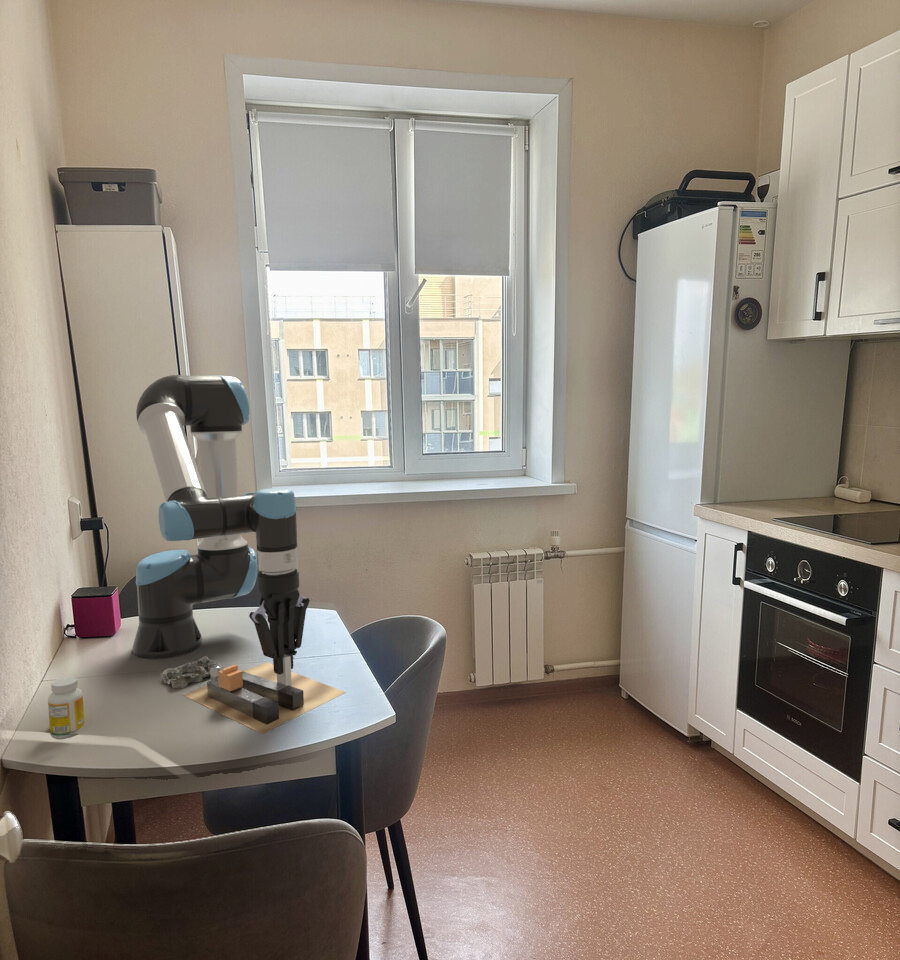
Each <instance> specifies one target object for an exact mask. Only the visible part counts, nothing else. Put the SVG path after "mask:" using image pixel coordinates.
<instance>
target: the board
mask: <svg viewBox="0 0 900 960" xmlns="http://www.w3.org/2000/svg"><path fill="white" fill-rule="evenodd" d="M242 671H243V670H242ZM243 672H246V673H249V674H253V675H256V676H259V677H262V678H265V679H268V680H271V681H274V682H277V674H276V673H274V667H273V664H272V663H270V662H267V661H265V662H264V663H261V664H258V665H256V666H253V667H250V668H249V669H246V670H244V671H243ZM291 677H292V687H295V688H298V689H301V690H303V696H304V705H303V706H301V707H299V708H297V709H295V710H294V711H293V710H290V709H287V708H285V707H282V706H279V719H278V720H276V721H274V722H272V723H270V724H267V725H266V724H264V723H262V722H260V721H258V720H256V719H254V718H252V717H250V716H248V715H246V714H244V713H242V712H240V711H237V710H235V709H233V708H231V707H229V706H227V705H225V704H223V703H220V702H218V701H216V700H214V699H212V698H210V697H208V690H207V685H205V686H203V687H200V688H197V689H195V690H193V691H190V692H188V693H185V694H183V695H182V696H184V697H186V698H187V699H189V700H192V701H193V702H196V703H198V704H200V705H202V706H205V707H207V709H211V710H213V711H215V712H216V713H219V714H220V715H222V716H224V717H227V718H229V719H230V720H233V721H234V722H237V723H238V724H241V725H243V726H245V727H247V728H249V729H251V730H253V731H255V732H257V733H259V734H262V735H263V734H265V733H268V732H270V731H271V730H273V729H275V728H278V727H280V726H282V725H284V724H286V723H287V722H290V721H292V720H294V719H295V718H298V717H300V716H301V715H303V714H305V713H308V712H309V711H312V710H314V709H316V708H317V707H319V706H322V705H324V704H325V703H327V702H330V701H332V700H333V699H336V698H338V697H339V696H342V695H345V694H346V691H344V690H341V689H339V688H336V687H334V686H330V685H328V684H325V683H322V682H320V681H319V680H318V681H317V680H315V679H312V678H310V677H307V676H306V675H301V674H300V673H298V672H297V673H296V672H293V671H291Z"/></svg>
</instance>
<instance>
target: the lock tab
mask: <svg viewBox="0 0 900 960" xmlns="http://www.w3.org/2000/svg"><path fill="white" fill-rule="evenodd" d="M238 668H239V666H238V664H232V665H231V666H230V665H229V666H227V667H225V668H223V669H222V670H221V671H218V678H219V687H221V688H224V689H226V690H228V691H232V690H235V689H237V688H240V687H242V686H243V679H242V671H243V670H240V669H238Z"/></svg>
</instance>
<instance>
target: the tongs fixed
mask: <svg viewBox="0 0 900 960" xmlns="http://www.w3.org/2000/svg"><path fill="white" fill-rule="evenodd" d="M223 667H224V666H223V664H218V663H217V665H213V666H211V667H210V671H209V672H210V676H209V677H210V680H209V681H207V682H206V686H207V690H208V697H210V698H212V699H214V700H216V701H218V702H220V703H223V704H225V705H227V706H229V707H231V708H233V709H235V710H237V711H240V712H242V713H244V714H246V715H248V716H250V717H252V718H254V719H256V720H258V721H260V722H262V723H264V724H266V725H267V724H270V723H272V722H274V721H276V720H278V719H279V704H278V702H276V701H273V700H271V699H269V698H266V697H262V696H260V695H257V694H255V693H253V692H250V691H248V690H246V689H244V688H241V687H240V688H237V689H235V690H232V691H228V690H226V689H224V688H221V687H219V678H218V671H221V670H222V669H224V668H223Z"/></svg>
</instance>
